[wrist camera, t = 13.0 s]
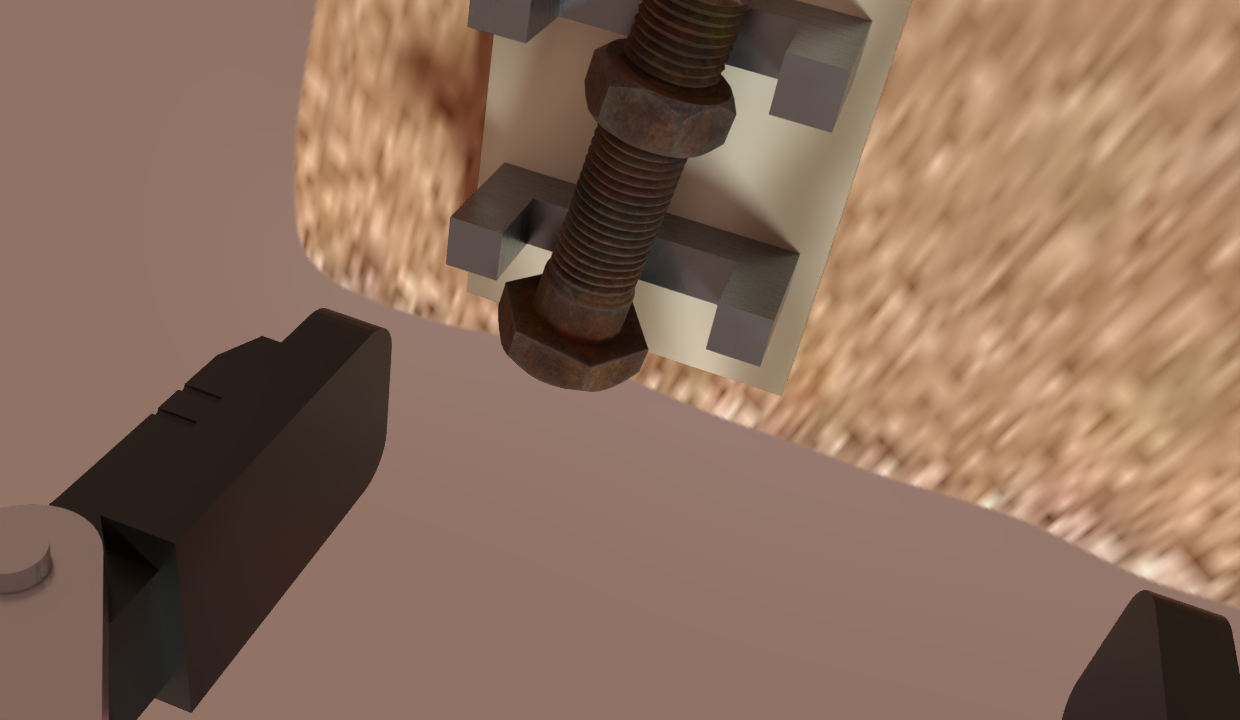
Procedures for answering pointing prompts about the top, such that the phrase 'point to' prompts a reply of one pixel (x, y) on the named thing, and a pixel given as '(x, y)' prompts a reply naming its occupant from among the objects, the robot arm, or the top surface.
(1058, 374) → the top surface
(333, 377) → the robot arm
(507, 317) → the bolt
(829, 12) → the grey notched cradle
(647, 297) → the collar board
